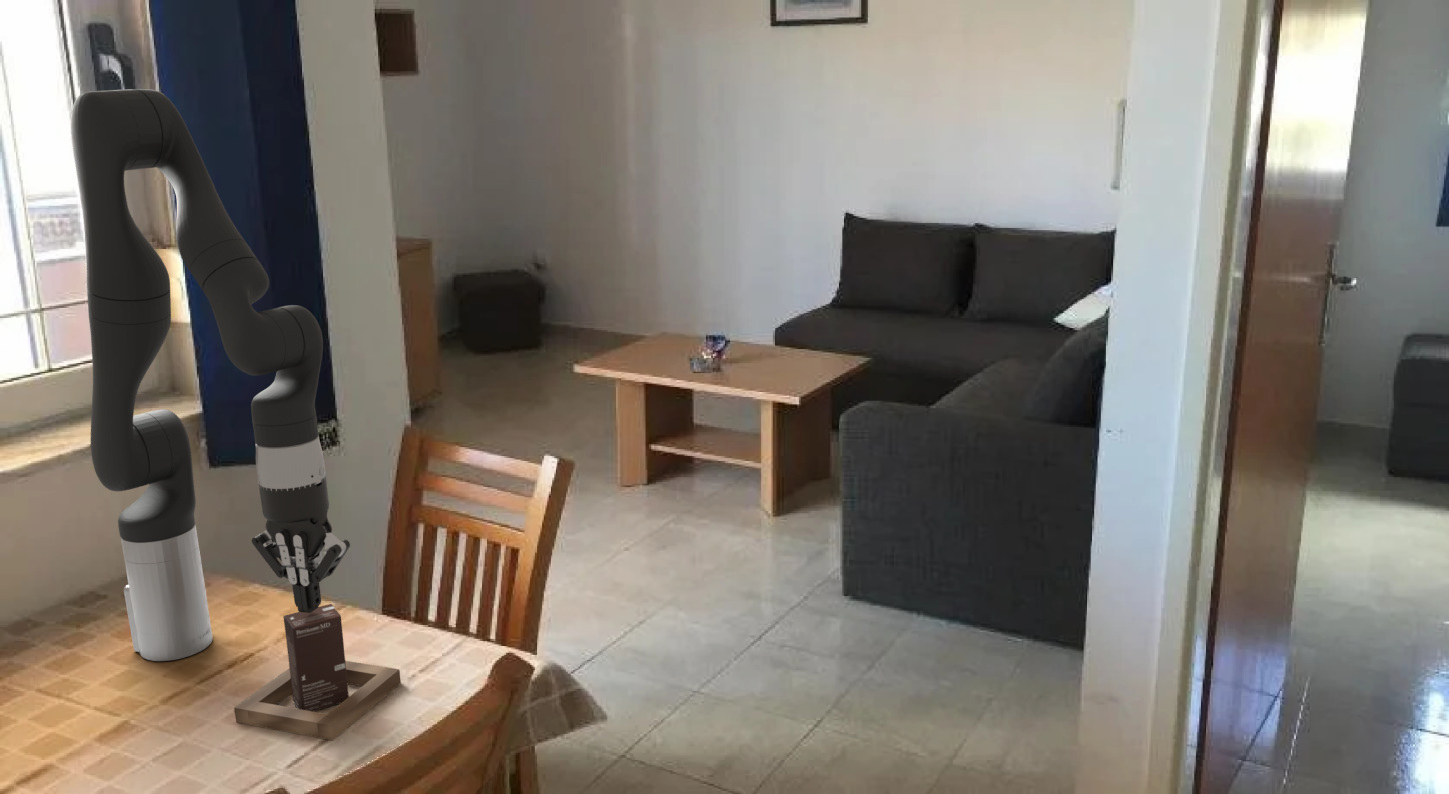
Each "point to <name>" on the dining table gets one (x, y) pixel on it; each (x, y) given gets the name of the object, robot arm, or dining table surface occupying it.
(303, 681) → the box
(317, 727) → the socket
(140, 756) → the dining table surface
